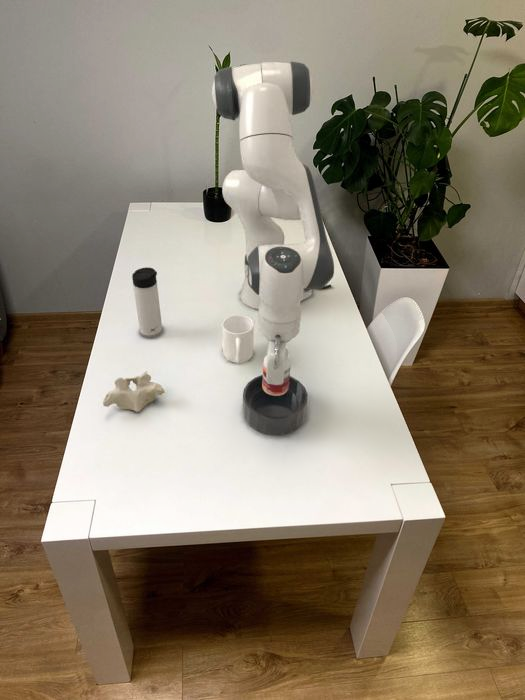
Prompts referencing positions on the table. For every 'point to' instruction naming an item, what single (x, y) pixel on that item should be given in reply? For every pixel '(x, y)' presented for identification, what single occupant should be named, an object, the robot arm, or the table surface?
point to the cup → (237, 338)
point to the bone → (133, 393)
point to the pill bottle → (277, 389)
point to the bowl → (274, 407)
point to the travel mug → (147, 302)
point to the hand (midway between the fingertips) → (276, 371)
